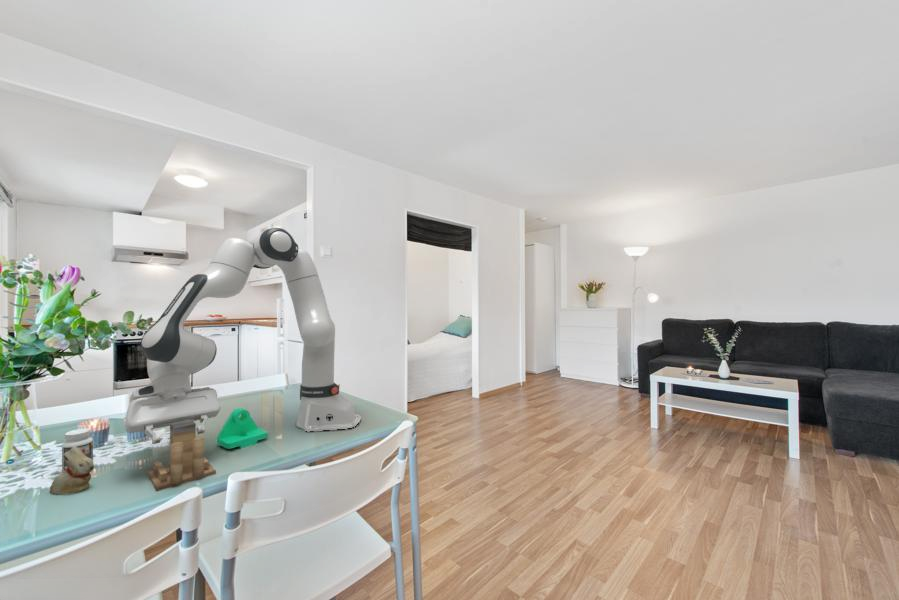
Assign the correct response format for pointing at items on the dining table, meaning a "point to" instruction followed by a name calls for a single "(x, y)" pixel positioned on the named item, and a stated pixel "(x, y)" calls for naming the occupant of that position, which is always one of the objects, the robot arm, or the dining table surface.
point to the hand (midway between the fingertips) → (179, 437)
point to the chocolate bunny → (73, 473)
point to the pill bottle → (77, 444)
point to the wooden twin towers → (181, 466)
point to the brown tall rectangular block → (184, 440)
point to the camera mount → (240, 431)
